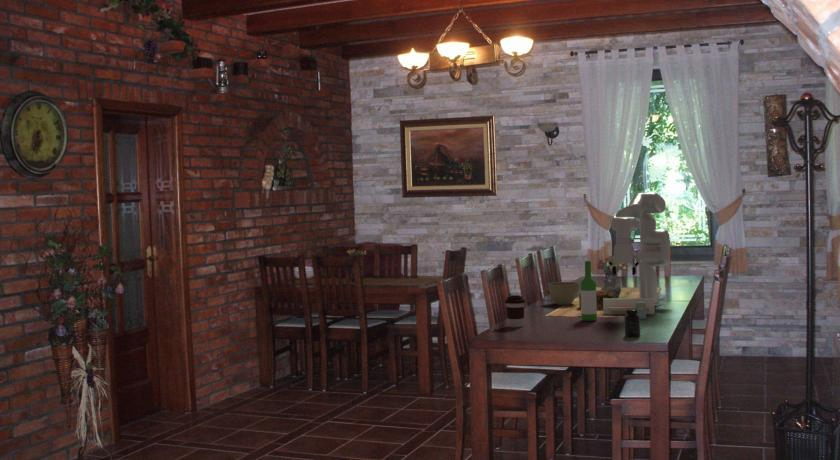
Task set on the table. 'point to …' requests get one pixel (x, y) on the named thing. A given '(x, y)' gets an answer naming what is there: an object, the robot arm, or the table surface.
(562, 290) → the flower pot
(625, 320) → the supplement bottle
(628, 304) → the wall shelf
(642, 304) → the cabinet block
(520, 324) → the coffee cup
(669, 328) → the table surface
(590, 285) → the wine bottle
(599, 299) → the bread
